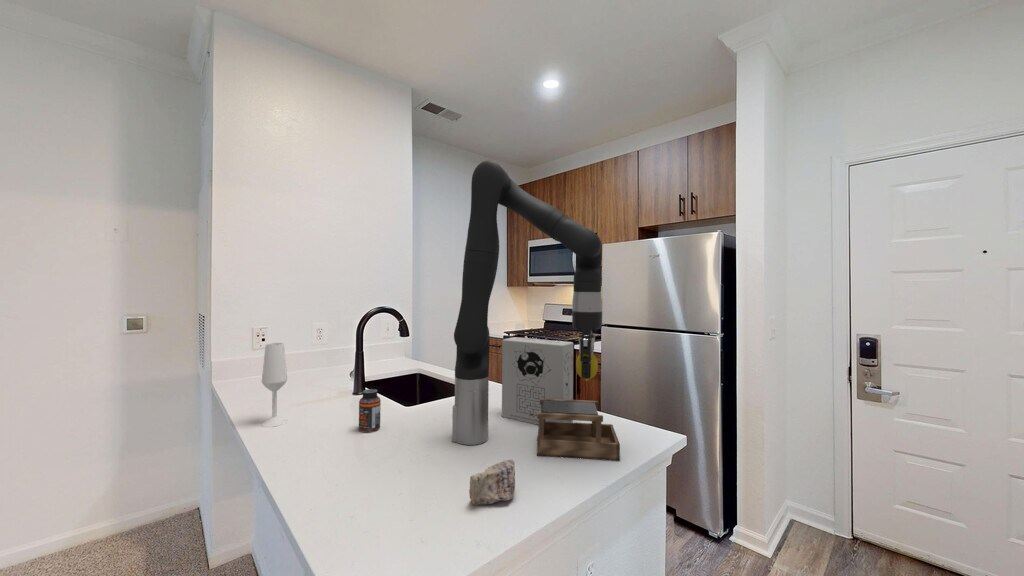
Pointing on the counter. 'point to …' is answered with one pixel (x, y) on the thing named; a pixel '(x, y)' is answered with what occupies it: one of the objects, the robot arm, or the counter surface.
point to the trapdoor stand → (576, 436)
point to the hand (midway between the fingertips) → (586, 375)
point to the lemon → (593, 366)
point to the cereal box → (534, 376)
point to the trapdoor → (569, 407)
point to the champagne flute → (274, 377)
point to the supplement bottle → (369, 411)
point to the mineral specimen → (493, 484)
